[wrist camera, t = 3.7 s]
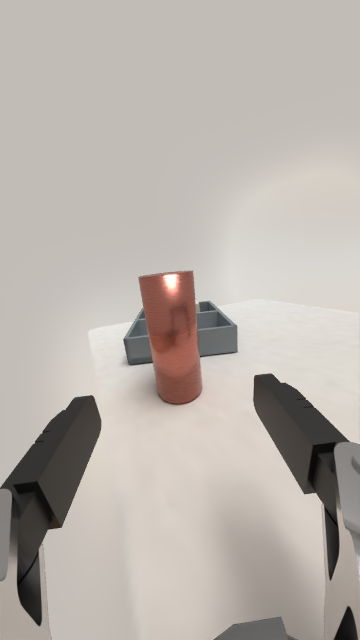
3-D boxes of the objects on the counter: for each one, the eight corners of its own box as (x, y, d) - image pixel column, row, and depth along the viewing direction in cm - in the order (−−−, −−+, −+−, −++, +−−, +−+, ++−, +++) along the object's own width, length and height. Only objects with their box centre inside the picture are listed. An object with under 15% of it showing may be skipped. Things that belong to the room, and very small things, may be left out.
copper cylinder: (198, 371, 25) (189, 270, 21) (206, 400, 20) (196, 272, 16) (159, 376, 25) (142, 275, 21) (156, 406, 20) (133, 279, 16)
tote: (210, 317, 49) (209, 300, 47) (237, 351, 29) (237, 326, 28) (144, 324, 48) (142, 308, 47) (128, 364, 29) (123, 339, 28)
